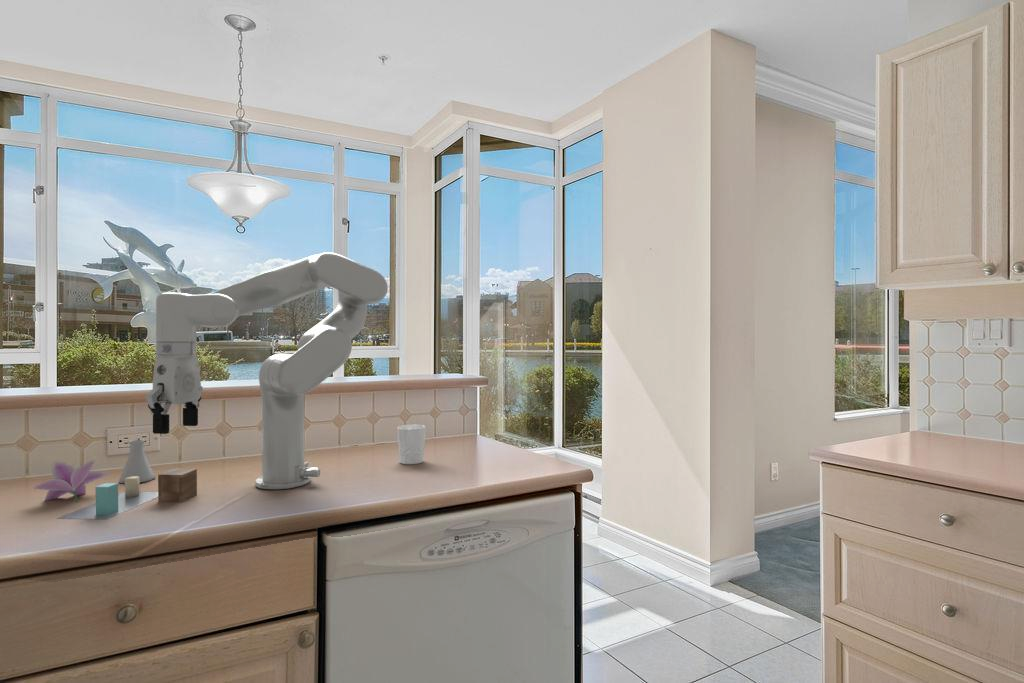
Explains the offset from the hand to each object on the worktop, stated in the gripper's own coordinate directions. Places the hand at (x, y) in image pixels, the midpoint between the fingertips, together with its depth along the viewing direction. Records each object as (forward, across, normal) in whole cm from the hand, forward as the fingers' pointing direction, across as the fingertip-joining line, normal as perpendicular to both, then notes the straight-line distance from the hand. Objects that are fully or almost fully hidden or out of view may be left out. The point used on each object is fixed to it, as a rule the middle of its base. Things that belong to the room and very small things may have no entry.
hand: (176, 429), depth 122 cm
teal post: (+15, -10, +8) cm, 20 cm away
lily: (+16, -2, +22) cm, 27 cm away
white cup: (+16, +40, -42) cm, 60 cm away
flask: (+16, +16, +21) cm, 31 cm away
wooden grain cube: (+16, 0, 0) cm, 16 cm away
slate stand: (+16, -5, +10) cm, 19 cm away
